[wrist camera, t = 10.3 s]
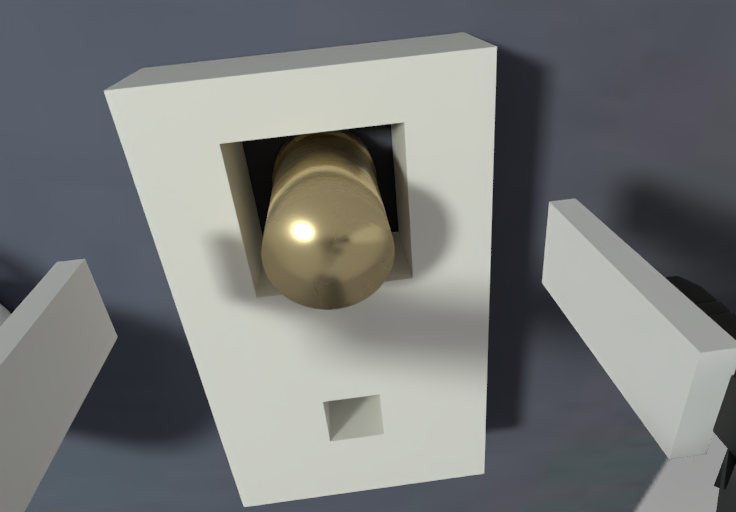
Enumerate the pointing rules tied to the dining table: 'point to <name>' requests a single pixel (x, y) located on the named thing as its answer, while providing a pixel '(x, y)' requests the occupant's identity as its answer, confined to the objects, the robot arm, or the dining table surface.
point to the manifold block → (337, 326)
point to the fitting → (326, 222)
